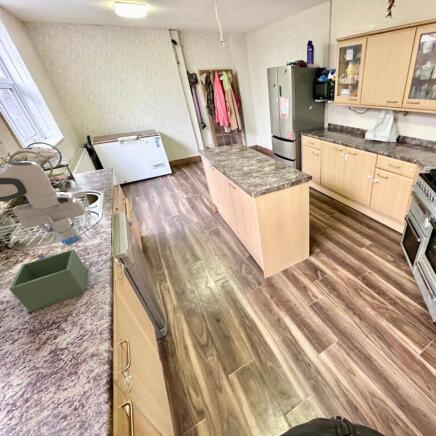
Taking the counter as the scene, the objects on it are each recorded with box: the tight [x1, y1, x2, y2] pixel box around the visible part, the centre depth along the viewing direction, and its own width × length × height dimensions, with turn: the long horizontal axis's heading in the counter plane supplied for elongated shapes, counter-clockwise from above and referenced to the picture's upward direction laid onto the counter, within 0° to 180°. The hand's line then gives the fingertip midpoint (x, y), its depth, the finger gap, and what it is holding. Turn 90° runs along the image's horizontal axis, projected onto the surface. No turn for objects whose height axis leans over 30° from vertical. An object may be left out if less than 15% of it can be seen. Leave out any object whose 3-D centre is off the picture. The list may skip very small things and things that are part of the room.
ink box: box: [46, 215, 80, 246], centre depth 102 cm, size 9×5×15 cm, turn 65°
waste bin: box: [9, 248, 88, 313], centre depth 84 cm, size 15×15×11 cm
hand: (62, 229), depth 103 cm, fingers closed on ink box, 7 cm apart
